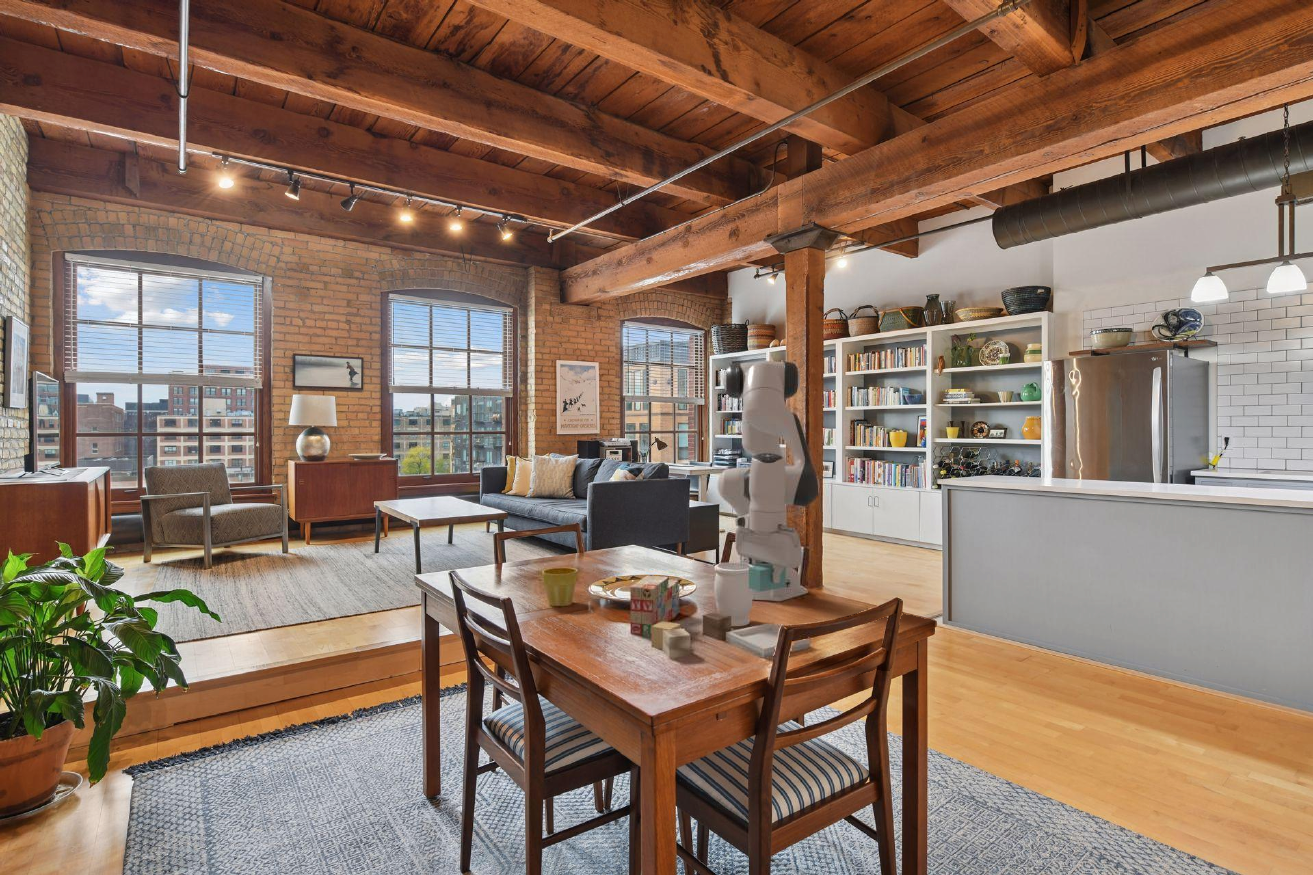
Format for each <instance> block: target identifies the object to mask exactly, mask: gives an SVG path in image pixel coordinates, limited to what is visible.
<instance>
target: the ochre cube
mask: <svg viewBox="0 0 1313 875" xmlns="http://www.w3.org/2000/svg"><path fill="white" fill-rule="evenodd" d="M681 626H682V625H681V623H676V622H671V621H669V622H666V621H662V622H660V623H657V624H655V625H653V626H652V636H651V648H655V649H660V650H663V630H673V629H682V628H681Z"/></svg>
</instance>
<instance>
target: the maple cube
mask: <svg viewBox="0 0 1313 875" xmlns="http://www.w3.org/2000/svg"><path fill="white" fill-rule="evenodd" d="M662 652H663V653H664V654H665V656H666V657H667V659H669V660H670V659H671V660H672V659H678V658H679V659H681V658H690V657H691V634H690V633H689V632H688V631H686V630H685V628H681V629H673V630H663V649H662Z"/></svg>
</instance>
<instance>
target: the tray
mask: <svg viewBox="0 0 1313 875" xmlns="http://www.w3.org/2000/svg"><path fill="white" fill-rule="evenodd" d="M780 627H781V626H779V625H776V624H774V623H771V622H769V623H765V624H760V625H759V624H758V625H754V626H750V627H745V628H740V629H736V630H731V631H729V632H726V637H725V641H726V642H727V643H729V644H731V645H734V646H735V645H736V646H735V647H738V648H740V649H742V650H744V651H746V652H749V653H751V654H753V655H755V656H756V657H759V658H762V659H763V658H765V659H768V658H767V657H769V658H773V657H774V656H773V654H774V652H775V647H776V641H777V633H778V630H779V628H780ZM810 640H811V638H810V639H803V640H801V641H797V642H796V643H794V645H793V646H792V652H791V653H793V652H796V651H801V650H806V649H810V646H811V645H810V644H811V643H810V642H811V641H810Z"/></svg>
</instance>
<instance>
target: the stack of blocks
mask: <svg viewBox="0 0 1313 875" xmlns="http://www.w3.org/2000/svg"><path fill="white" fill-rule="evenodd" d="M679 585H680V584H679V580H676V579H669V576H659V575H646V576H644V577H643V578H641V579H640V580H638V581H637V582H635V583H633V584H632V585H631V586H630V588H629V589H630V593H629V595H630V601H629V602H630V603H629V604H630V607H629V608H630V634H631V635H638V636H648V637H652V626H653V625H655V624H657V623H660V622H662V621H666V622H671V621H672V620H673V619H674V618H675V617H676V616H677V615H678V614H679V613H680V591H679V589H680V588H679ZM671 619H672V620H671Z"/></svg>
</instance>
